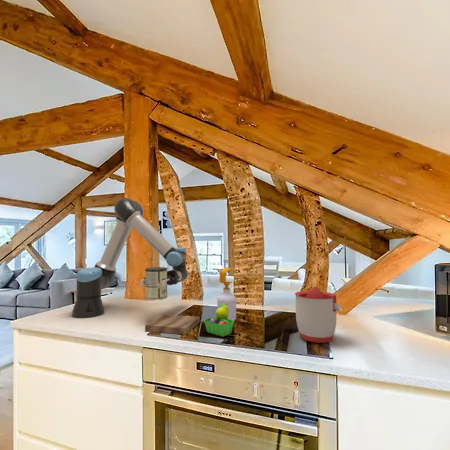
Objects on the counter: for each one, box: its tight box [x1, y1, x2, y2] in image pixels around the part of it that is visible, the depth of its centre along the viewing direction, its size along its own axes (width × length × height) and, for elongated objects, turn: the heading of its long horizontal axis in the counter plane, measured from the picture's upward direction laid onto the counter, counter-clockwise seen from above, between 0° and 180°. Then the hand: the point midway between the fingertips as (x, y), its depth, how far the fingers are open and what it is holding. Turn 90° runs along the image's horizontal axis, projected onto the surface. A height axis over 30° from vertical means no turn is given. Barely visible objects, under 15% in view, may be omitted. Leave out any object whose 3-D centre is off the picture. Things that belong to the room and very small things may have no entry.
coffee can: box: [144, 266, 168, 301], centre depth 134 cm, size 10×10×14 cm
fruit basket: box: [203, 304, 235, 337], centre depth 117 cm, size 11×9×11 cm
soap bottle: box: [216, 267, 237, 322], centre depth 137 cm, size 9×9×25 cm
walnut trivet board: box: [144, 314, 201, 335], centre depth 125 cm, size 18×18×2 cm
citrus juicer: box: [294, 286, 343, 344], centre depth 110 cm, size 16×17×20 cm
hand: (152, 283), depth 130 cm, fingers closed on coffee can, 10 cm apart
